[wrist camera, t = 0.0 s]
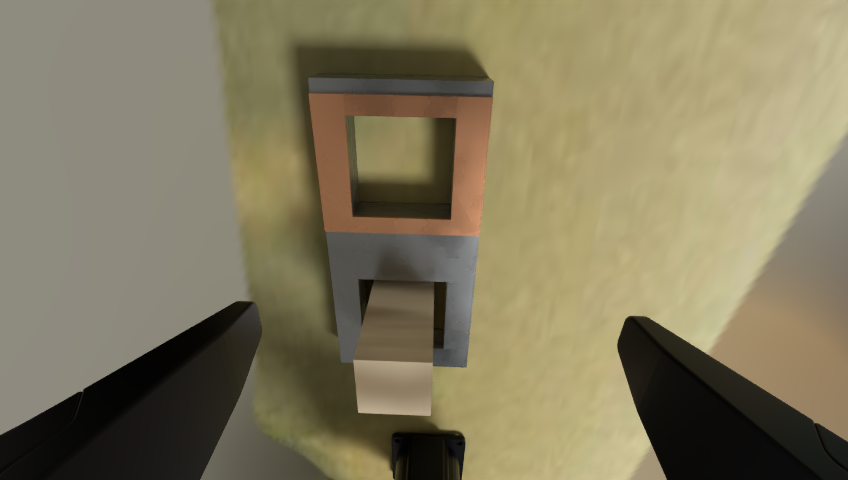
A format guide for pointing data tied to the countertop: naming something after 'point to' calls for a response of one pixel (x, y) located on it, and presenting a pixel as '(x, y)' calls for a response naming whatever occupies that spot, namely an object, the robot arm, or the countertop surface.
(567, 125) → the countertop surface
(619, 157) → the countertop surface
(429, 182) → the countertop surface
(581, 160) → the countertop surface
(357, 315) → the grey board
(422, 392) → the beech peg
